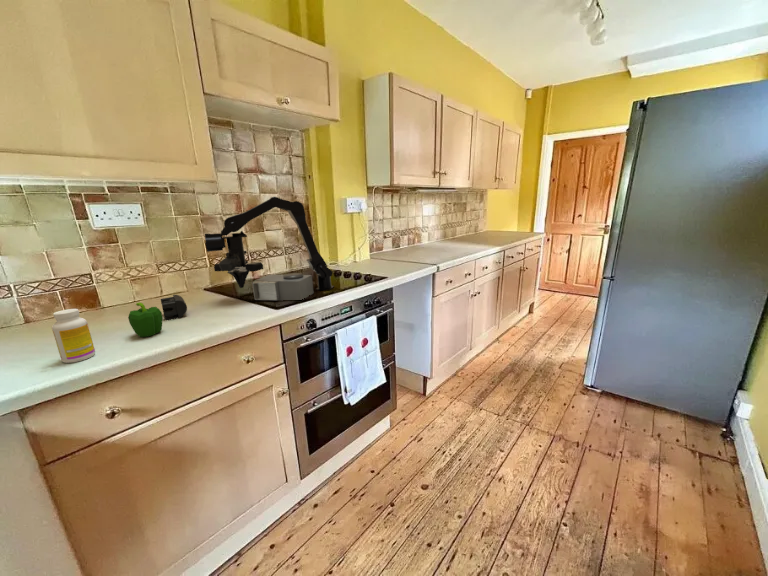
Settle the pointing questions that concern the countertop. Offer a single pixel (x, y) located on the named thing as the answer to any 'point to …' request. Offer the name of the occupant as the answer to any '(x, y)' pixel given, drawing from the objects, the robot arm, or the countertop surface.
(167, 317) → the end cap
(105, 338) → the countertop surface
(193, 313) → the countertop surface
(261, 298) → the side door
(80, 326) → the supplement bottle
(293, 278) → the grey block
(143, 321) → the bell pepper
